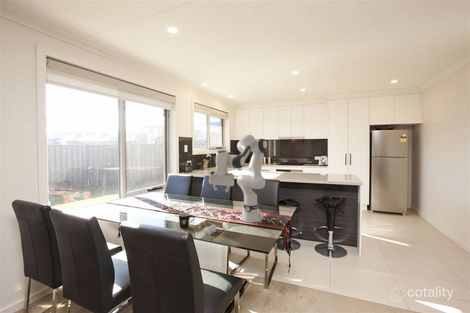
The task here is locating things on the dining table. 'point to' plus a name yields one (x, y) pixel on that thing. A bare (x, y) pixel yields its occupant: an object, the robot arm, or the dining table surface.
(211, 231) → the bracket
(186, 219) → the coffee mug
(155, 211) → the dining table surface
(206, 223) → the corner walls
